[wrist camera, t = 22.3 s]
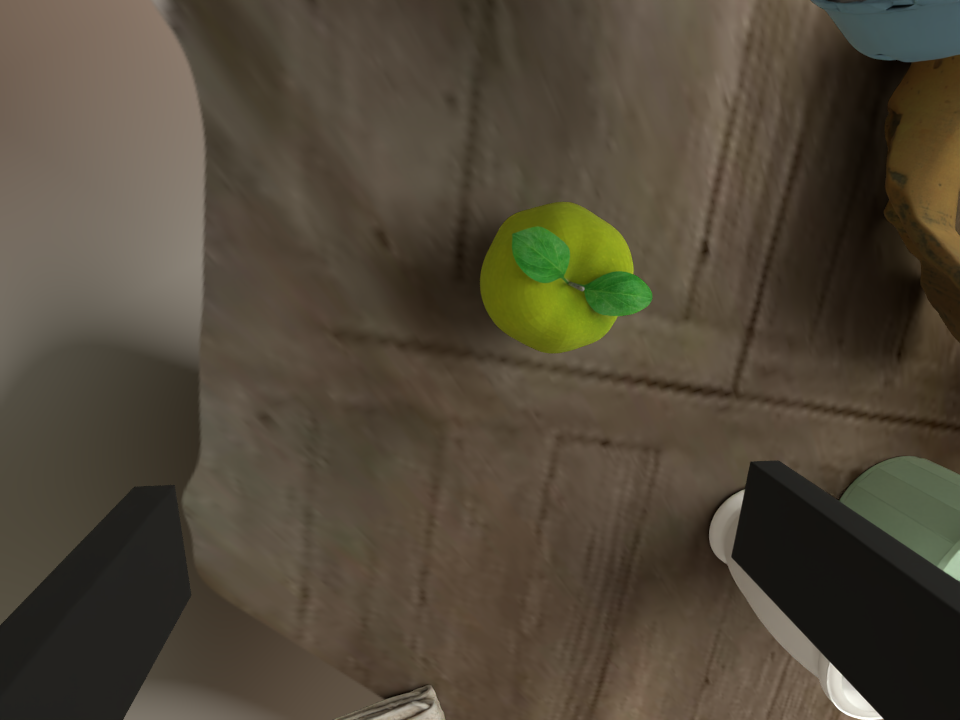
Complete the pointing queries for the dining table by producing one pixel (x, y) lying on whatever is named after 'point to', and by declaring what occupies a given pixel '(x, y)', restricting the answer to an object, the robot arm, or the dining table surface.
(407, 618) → the dining table surface
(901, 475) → the pot
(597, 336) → the fruit
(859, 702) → the jar
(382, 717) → the washcloth
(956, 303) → the brown looped sculpture
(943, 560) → the pot lid
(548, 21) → the dining table surface
